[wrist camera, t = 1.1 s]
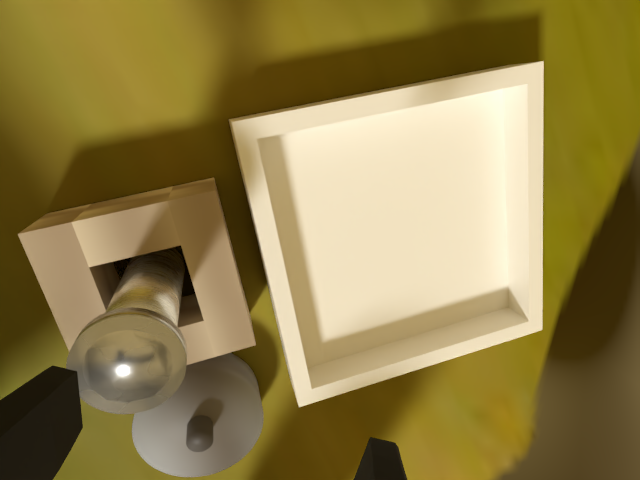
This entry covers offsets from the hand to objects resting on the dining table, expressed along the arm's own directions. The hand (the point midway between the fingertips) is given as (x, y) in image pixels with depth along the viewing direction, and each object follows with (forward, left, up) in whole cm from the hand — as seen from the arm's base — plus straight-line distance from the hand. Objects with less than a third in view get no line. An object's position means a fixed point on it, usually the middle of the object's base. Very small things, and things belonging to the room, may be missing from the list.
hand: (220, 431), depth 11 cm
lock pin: (-2, +1, -11) cm, 11 cm away
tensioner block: (-2, -3, -11) cm, 11 cm away
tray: (+9, 0, -11) cm, 14 cm away
